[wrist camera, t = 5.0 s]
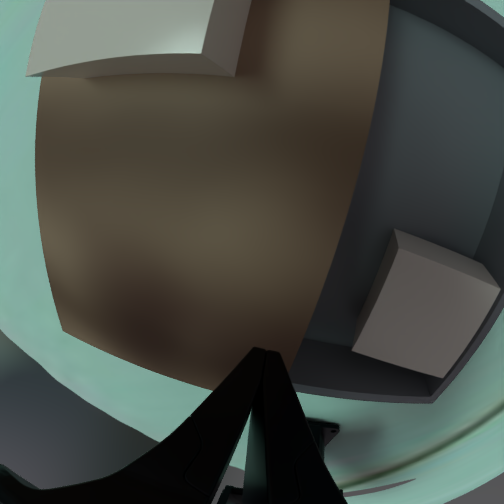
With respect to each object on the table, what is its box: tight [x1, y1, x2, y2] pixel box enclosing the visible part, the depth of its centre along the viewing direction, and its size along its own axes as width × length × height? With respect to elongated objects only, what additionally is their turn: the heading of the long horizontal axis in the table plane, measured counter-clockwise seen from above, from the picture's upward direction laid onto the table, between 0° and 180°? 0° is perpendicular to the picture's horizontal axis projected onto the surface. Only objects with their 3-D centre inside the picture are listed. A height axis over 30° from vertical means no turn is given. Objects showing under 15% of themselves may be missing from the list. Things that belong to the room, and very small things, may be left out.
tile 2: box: [352, 228, 501, 378], centre depth 10 cm, size 5×5×2 cm
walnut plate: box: [35, 0, 390, 391], centre depth 9 cm, size 18×11×5 cm, turn 170°
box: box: [288, 0, 504, 403], centre depth 9 cm, size 18×9×4 cm, turn 170°
